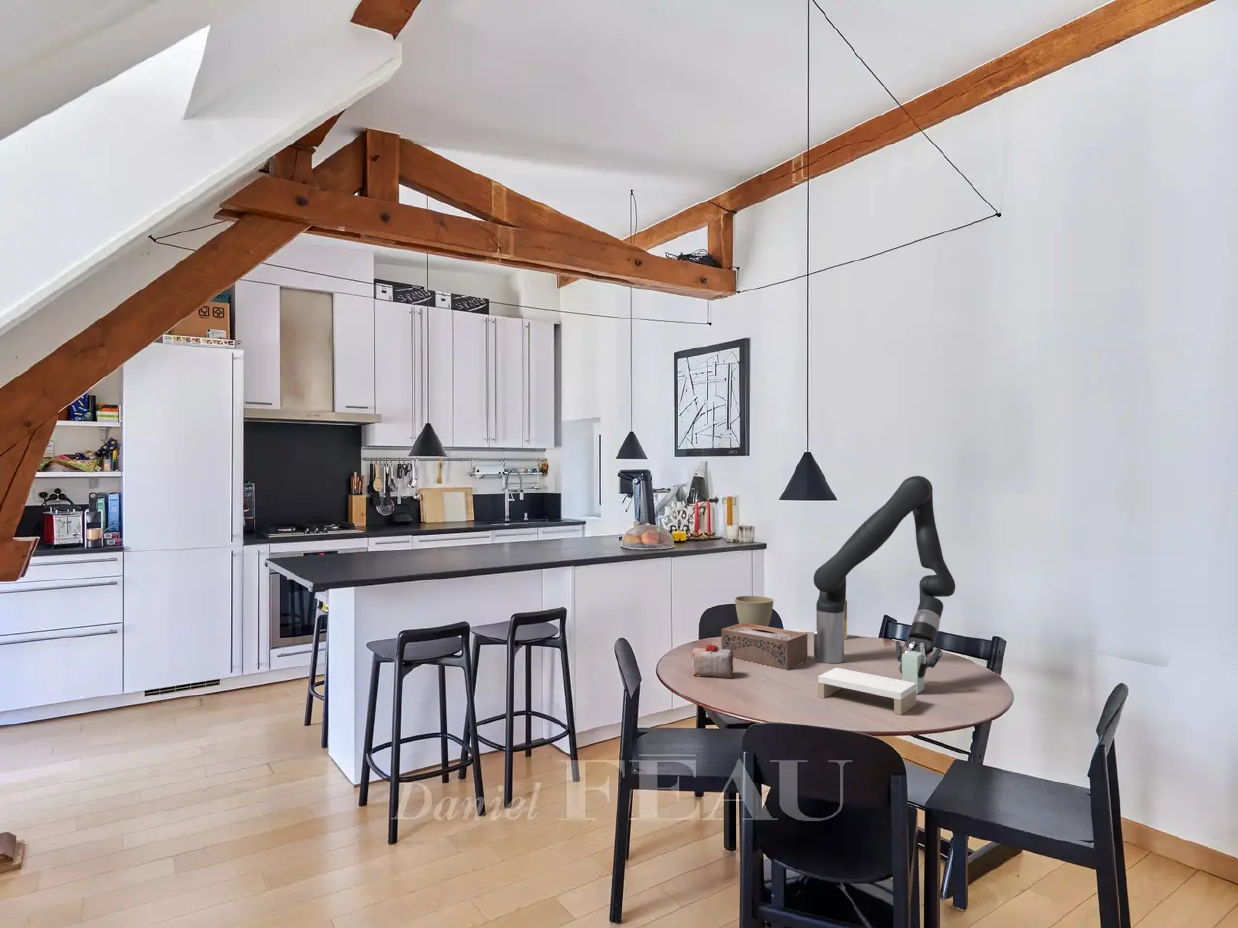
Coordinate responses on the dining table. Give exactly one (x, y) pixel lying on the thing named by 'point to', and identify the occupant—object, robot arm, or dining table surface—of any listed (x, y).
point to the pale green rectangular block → (912, 669)
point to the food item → (712, 662)
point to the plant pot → (754, 609)
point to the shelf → (869, 687)
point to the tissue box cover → (765, 645)
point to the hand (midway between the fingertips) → (910, 674)
